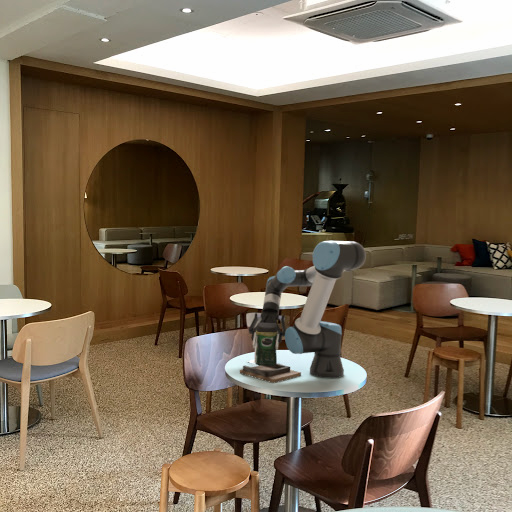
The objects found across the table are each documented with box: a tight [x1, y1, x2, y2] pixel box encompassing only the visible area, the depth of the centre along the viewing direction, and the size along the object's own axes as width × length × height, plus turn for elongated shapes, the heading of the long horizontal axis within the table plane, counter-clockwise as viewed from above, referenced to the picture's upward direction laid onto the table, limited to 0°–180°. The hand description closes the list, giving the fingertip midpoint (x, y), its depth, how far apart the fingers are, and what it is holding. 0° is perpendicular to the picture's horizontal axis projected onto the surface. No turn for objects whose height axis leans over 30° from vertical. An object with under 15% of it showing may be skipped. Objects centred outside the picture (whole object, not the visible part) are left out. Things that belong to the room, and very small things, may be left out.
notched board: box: [239, 363, 302, 384], centre depth 249 cm, size 20×18×4 cm
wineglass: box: [245, 312, 262, 363], centre depth 270 cm, size 9×10×23 cm
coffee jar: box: [254, 323, 278, 366], centre depth 249 cm, size 10×8×19 cm
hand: (265, 347), depth 246 cm, fingers closed on coffee jar, 9 cm apart
